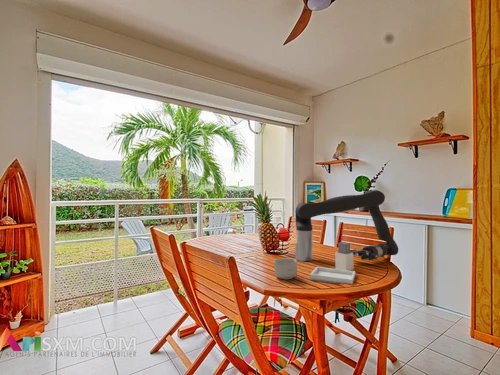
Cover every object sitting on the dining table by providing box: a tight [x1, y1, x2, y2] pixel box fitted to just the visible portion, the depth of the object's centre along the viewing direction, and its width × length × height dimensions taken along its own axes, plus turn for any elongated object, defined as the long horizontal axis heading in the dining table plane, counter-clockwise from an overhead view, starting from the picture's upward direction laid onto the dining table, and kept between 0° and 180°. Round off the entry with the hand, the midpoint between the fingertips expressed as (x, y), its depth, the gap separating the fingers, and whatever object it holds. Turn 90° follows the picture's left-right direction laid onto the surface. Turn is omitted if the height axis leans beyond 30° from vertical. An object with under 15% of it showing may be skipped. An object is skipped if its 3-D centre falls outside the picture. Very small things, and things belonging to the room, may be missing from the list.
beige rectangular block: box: [334, 251, 354, 271], centre depth 138 cm, size 6×6×9 cm
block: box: [337, 241, 351, 254], centre depth 138 cm, size 4×4×13 cm
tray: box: [309, 266, 356, 286], centre depth 125 cm, size 18×14×2 cm
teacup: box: [273, 257, 298, 280], centre depth 128 cm, size 14×11×8 cm
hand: (354, 256), depth 143 cm, fingers open, 8 cm apart
